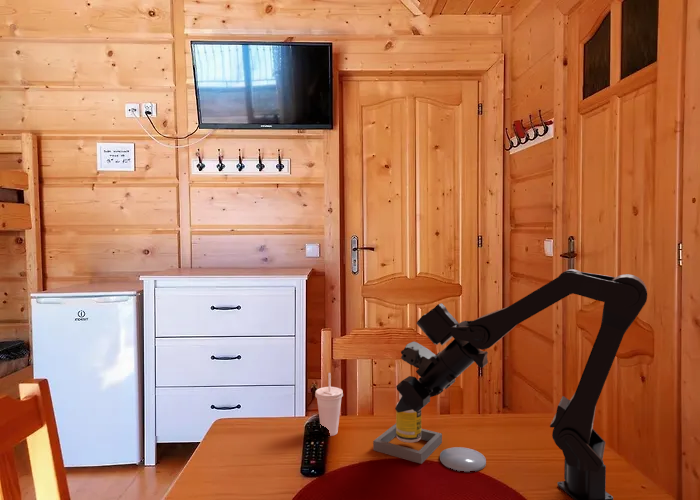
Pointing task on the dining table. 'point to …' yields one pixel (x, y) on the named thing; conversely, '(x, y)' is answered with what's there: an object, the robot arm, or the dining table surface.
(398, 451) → the frame
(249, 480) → the dining table surface
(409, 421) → the supplement bottle
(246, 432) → the dining table surface
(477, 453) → the coaster
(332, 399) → the smoothie
